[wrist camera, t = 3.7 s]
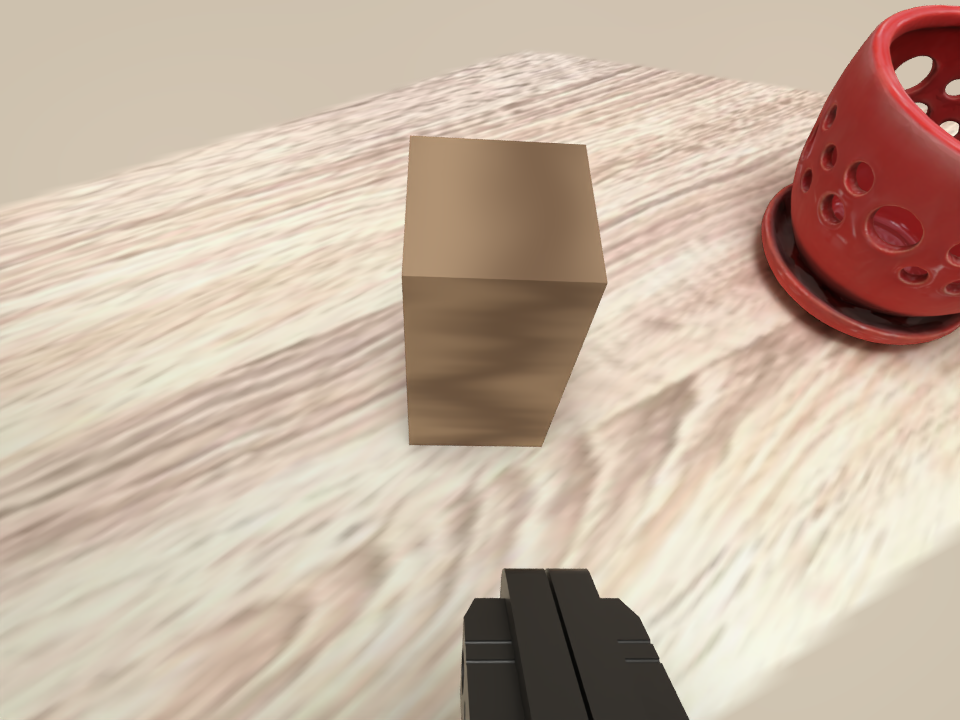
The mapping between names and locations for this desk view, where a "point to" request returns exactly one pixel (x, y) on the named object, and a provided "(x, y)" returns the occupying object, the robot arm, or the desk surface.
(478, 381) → the walnut block
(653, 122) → the desk surface
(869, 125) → the plant pot
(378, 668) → the desk surface
